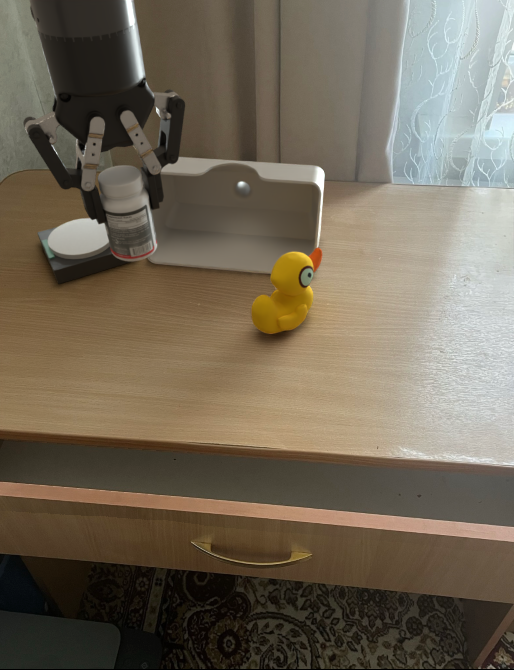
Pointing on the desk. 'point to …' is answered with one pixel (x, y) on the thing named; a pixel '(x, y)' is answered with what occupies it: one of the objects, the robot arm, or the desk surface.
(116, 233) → the pill bottle
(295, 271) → the duckling
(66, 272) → the scale
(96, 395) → the desk surface
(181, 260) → the tank
